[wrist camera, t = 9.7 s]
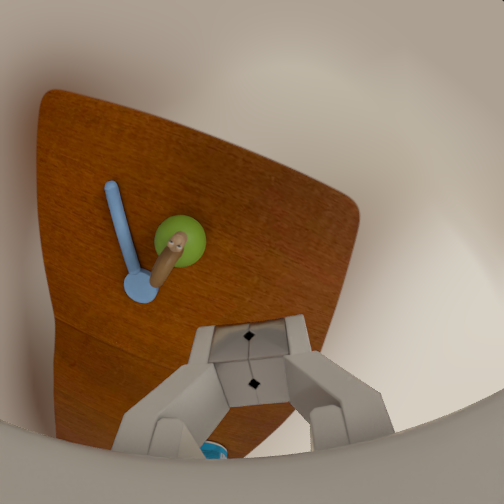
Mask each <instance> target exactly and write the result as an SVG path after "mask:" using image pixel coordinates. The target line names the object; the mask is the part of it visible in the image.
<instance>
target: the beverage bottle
mask: <svg viewBox="0 0 504 504" xmlns="http://www.w3.org/2000/svg"><path fill="white" fill-rule="evenodd" d="M200 450H201V451H202V453H203V454H204V456H205V457H206V459H227V450H226V449H225V448H224V447H223V446H222V445H220V444H218V443H215V442H212V441H205V442H204V444H203V445H202V446H201V447H200Z"/></svg>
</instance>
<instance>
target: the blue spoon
mask: <svg viewBox="0 0 504 504" xmlns="http://www.w3.org/2000/svg"><path fill="white" fill-rule="evenodd" d="M104 189H105V193H106V197H107V201H108V205H109V209H110V213H111V216H112V220H113V223H114V227H115V230H116V234H117V237H118V241H119V244H120V247H121V250H122V254H123V257H124V260H125V263H126V266H127V269H128V272H129V273H128V275H127V276H126V278H125V280H124V288H125V291H126V293H127V294H128V296H129V297H130V298H131V299H133V300H134V301H137V302H140V303H147V302H150V301H152V300H153V299H154V298H155V296H156V294H157V293H158V289H159V287H158V288H154V287H152V286H151V285H150V283H149V279H150V276H151V275H150V274H151V272H150V271H148V270H146V269H142V268H141V267H140V264H139V261H138V258H137V254H136V251H135V248H134V244H133V241H132V238H131V234H130V231H129V227H128V223H127V220H126V216H125V212H124V208H123V205H122V201H121V197H120V193H119V188H118V185H117V183H116V182H115V181H108V182H107V183H106V184H105V188H104Z"/></svg>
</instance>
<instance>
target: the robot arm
mask: <svg viewBox="0 0 504 504" xmlns="http://www.w3.org/2000/svg"><path fill="white" fill-rule="evenodd" d="M503 1H504V0H503ZM281 402H290V404H291V405H292V406H293V407H294V408H295V409H296V410H297V411H298V412H299V413H300V414H301V415H302V416H303V417H304V419H305V420H306V421H307V422H308V423H309V424H310V437H311V452H305V453H298V454H289V455H281V456H270V457H257V458H236V459H206V457H205V456H204V454H203V453H202V451H201V450H200V447H201V446H202V445H203V444H204V442H205V441H206V440H207V438H208V437H209V436H210V434H211V433H212V432H213V431H214V429H215V428H216V427H217V425H218V424H219V423H220V421H221V420H222V419H223V417H224V416H225V415H226V413H227V412H228V411H229V407H239V406H249V405H258V404H270V403H281ZM0 504H504V389H502V390H500V391H498V392H496V393H494V394H493V395H491V396H489V397H487V398H485V399H482V400H480V401H478V402H476V403H474V404H472V405H469V406H467V407H465V408H463V409H460V410H458V411H456V412H453V413H451V414H449V415H446V416H443V417H441V418H438V419H435V420H433V421H430V422H427V423H424V424H421V425H418V426H416V427H412V428H409V429H406V430H403V431H400V432H396V433H395V431H394V429H393V426H392V423H391V420H390V417H389V415H388V412H387V410H386V407H385V404H384V401H383V399H382V396H381V393H379V392H378V391H376V390H375V389H373V388H372V387H370V386H369V385H367V384H366V383H364V382H362V381H361V380H359V379H358V378H356V377H355V376H353V375H352V374H350V373H349V372H347V371H346V370H344V369H343V368H341V367H340V366H339V365H337V364H335V363H334V362H333V361H331V360H330V359H328V358H327V357H325V356H324V355H322V354H321V353H320V352H318V351H311V347H310V342H309V338H308V333H307V329H306V325H305V320H304V316H303V315H302V314H299V315H294V316H288V317H285V319H284V318H279V319H272V320H265V321H258V322H247V323H237V324H226V325H216V326H204V327H199V328H198V329H197V331H196V334H195V338H194V342H193V346H192V350H191V354H190V357H189V361H188V365H182V366H181V367H180V368H179V369H177V370H176V371H175V372H174V373H173V374H172V375H170V376H169V377H168V378H167V379H166V380H165V381H163V382H162V383H161V384H160V385H159V386H157V387H156V388H155V389H154V390H153V391H151V392H150V393H149V394H148V395H147V396H145V397H144V398H143V399H142V400H141V401H139V402H138V403H137V404H136V405H135V406H133V407H132V408H131V409H130V410H128V411H127V412H126V413H125V414H124V416H123V419H122V422H121V424H120V427H119V430H118V432H117V435H116V438H115V441H114V444H113V446H112V449H111V450H106V449H101V448H96V447H91V446H86V445H81V444H77V443H73V442H69V441H65V440H61V439H57V438H53V437H49V436H46V435H43V434H40V433H36V432H33V431H30V430H27V429H24V428H21V427H18V426H16V425H13V424H10V423H7V422H5V421H2V420H0Z"/></svg>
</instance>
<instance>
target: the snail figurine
mask: <svg viewBox="0 0 504 504" xmlns="http://www.w3.org/2000/svg"><path fill="white" fill-rule="evenodd" d="M154 243H155V249H156V251H157V254H158V255H159V257H158V258H157V260H156V262H155V264H154V267H153V269H152V271H151V274H150V275H151V276H150V279H149V283H150V285H151V286H152V287H154V288H158V287H160V286H161V285H162V284H163V283H164V281H165V280H166V278H167V277H168V275H169V273H170V272H171V270H172V269H173V267H187V266H190V265H192V264H194V263H195V262H196V261H198V260H199V259H200V257H201V256H202V254H203V253H204V250H205V247H206V235H205V232H204V229H203V228H202V226H201V225H200V223H199V222H198V221H196V220H195V219H193V218H192V217H189V216H186V215H175V216H172V217H169V218H167V219H166V220H164V221H163V222H162V223H161V224H160V226H159V227H158V229H157V231H156V234H155V240H154Z"/></svg>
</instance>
